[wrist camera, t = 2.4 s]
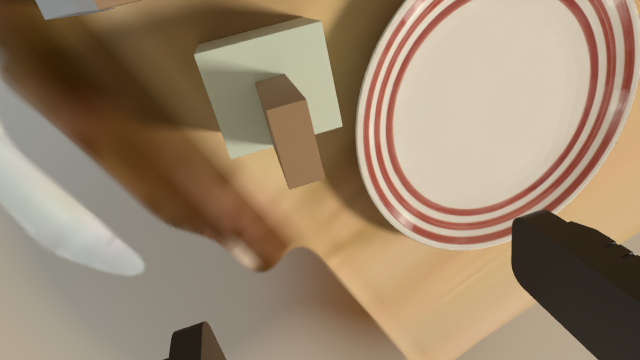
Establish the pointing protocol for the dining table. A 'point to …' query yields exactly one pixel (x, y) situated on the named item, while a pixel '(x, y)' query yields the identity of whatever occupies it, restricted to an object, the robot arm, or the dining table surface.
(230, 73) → the green and brown blocks
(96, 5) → the board
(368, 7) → the dining table surface
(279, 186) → the dining table surface
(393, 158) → the dinner plate
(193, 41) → the dining table surface
